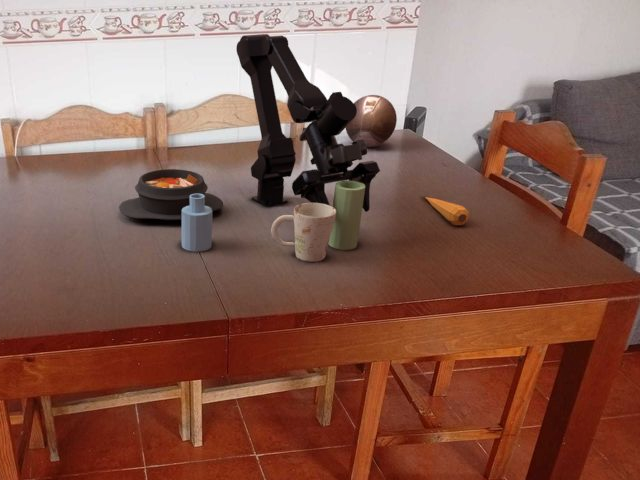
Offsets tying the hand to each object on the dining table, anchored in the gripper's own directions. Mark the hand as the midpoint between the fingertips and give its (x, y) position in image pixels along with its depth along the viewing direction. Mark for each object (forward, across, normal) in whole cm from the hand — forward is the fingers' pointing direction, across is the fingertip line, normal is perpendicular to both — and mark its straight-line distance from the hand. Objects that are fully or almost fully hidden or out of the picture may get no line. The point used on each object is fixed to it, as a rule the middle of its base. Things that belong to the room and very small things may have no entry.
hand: (349, 214), depth 145 cm
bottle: (-5, -29, +14) cm, 32 cm away
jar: (+4, 0, +6) cm, 7 cm away
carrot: (0, +33, +10) cm, 35 cm away
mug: (+5, -11, +5) cm, 14 cm away
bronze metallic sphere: (-38, +52, +48) cm, 81 cm away
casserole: (-19, -26, +29) cm, 43 cm away
